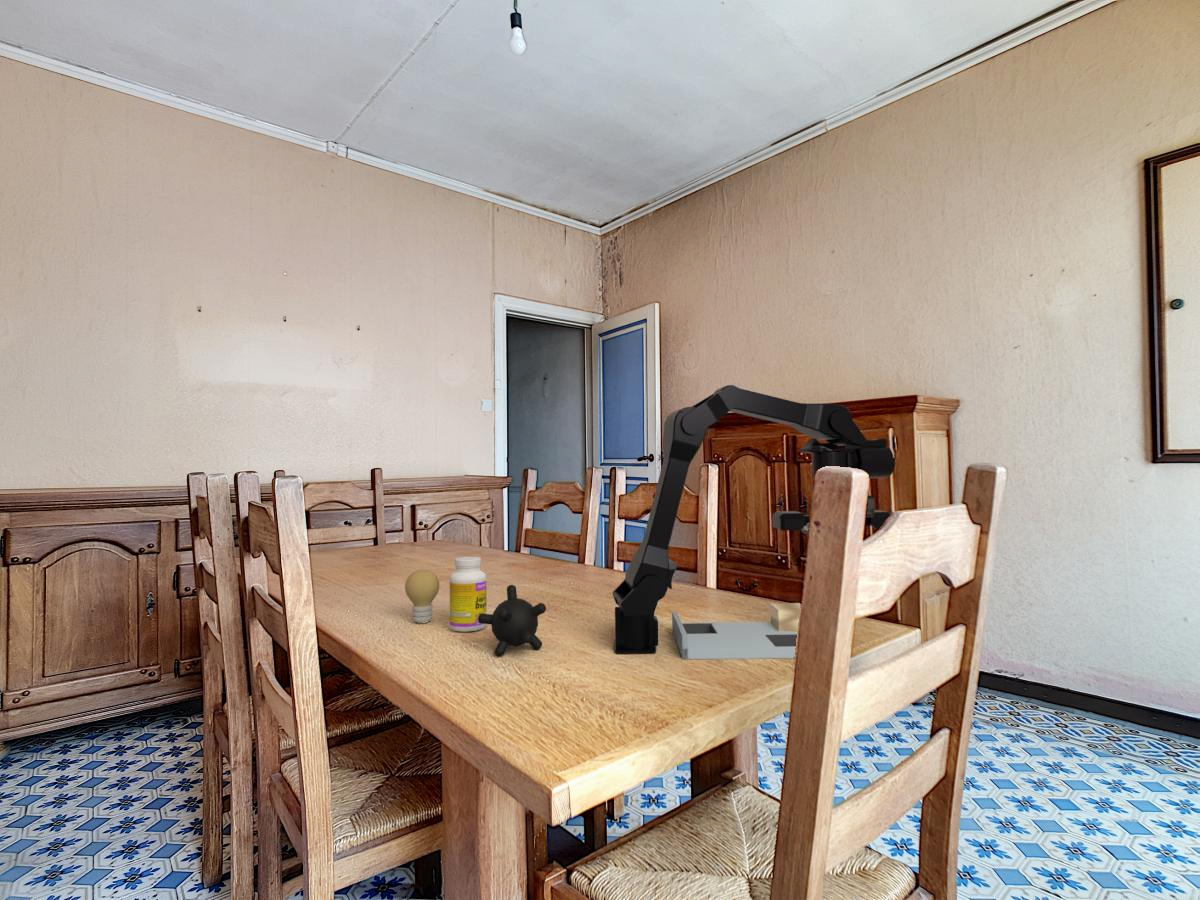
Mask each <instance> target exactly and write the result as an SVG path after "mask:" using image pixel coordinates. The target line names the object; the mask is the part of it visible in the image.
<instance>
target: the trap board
mask: <svg viewBox="0 0 1200 900" xmlns="http://www.w3.org/2000/svg"><path fill="white" fill-rule="evenodd" d="M671 623H672V624H671V627H672V629H671V630H672V635H673V637H674V640H675V643H676V646H677V649H678V651H679V653H680V656H681V659H682V660H734V659H735V660H736V659H737V660H742V659H743V660H747V659H749V660H750V659H751V660H752V659H755V660H757V659H758V660H762V659H795V658H794V655H795V648H796V638H797V631H786V632H779V631H778V630H777V629H776V628H775V627H774V626H773V625H772V624H771V621H738V622H737V621H734V622H732V621H731V622H729V621H726V622H725V621H723V622H720V621H719V622H718V621H717V622H716V621H715V622H713V621H712V622H682V620H681V618H680V616H679V614H678V612H677V610H675V611H671Z"/></svg>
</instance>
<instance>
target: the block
mask: <svg viewBox="0 0 1200 900" xmlns="http://www.w3.org/2000/svg"><path fill="white" fill-rule="evenodd" d="M769 605H770V606H769V607H770V622H771V624H772V625H773V626H774V627H775V628H776V629H777V630H778V631H779V632H786V631H797V629H798V622H799V614H800V605H802V604H801V603H800V602H791V603H790V602H788V603H787V602H783V603H782V602H781V603H780V602H778V603H776V602H775V603H769Z"/></svg>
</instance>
